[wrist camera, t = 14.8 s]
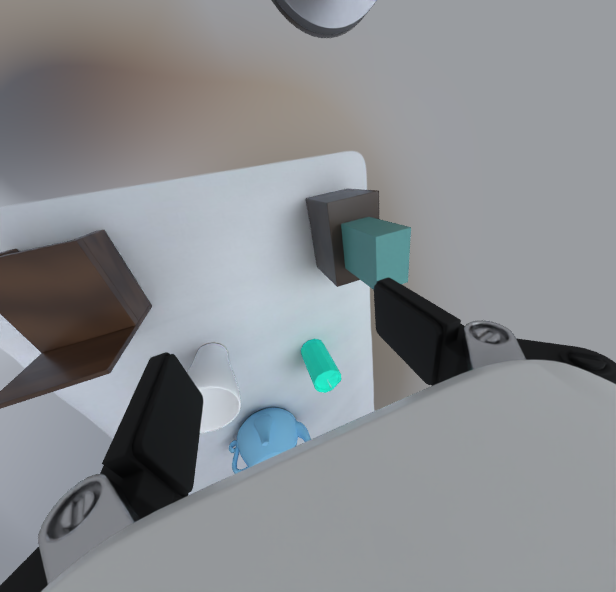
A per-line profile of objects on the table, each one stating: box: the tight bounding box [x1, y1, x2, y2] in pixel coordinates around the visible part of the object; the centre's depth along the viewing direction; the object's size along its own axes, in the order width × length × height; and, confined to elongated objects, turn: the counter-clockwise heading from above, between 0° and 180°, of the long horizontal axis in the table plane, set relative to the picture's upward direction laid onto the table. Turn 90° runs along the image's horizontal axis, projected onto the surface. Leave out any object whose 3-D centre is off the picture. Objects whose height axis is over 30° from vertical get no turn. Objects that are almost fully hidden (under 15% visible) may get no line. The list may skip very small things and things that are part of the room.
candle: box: [301, 339, 341, 393], centre depth 49 cm, size 6×6×12 cm
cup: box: [187, 343, 241, 433], centre depth 41 cm, size 10×10×14 cm
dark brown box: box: [306, 189, 379, 287], centre depth 38 cm, size 13×8×10 cm, turn 10°
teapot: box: [229, 408, 311, 474], centre depth 57 cm, size 17×19×12 cm
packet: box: [341, 217, 411, 289], centre depth 30 cm, size 7×4×9 cm, turn 10°
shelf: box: [0, 230, 152, 409], centre depth 28 cm, size 13×12×16 cm
